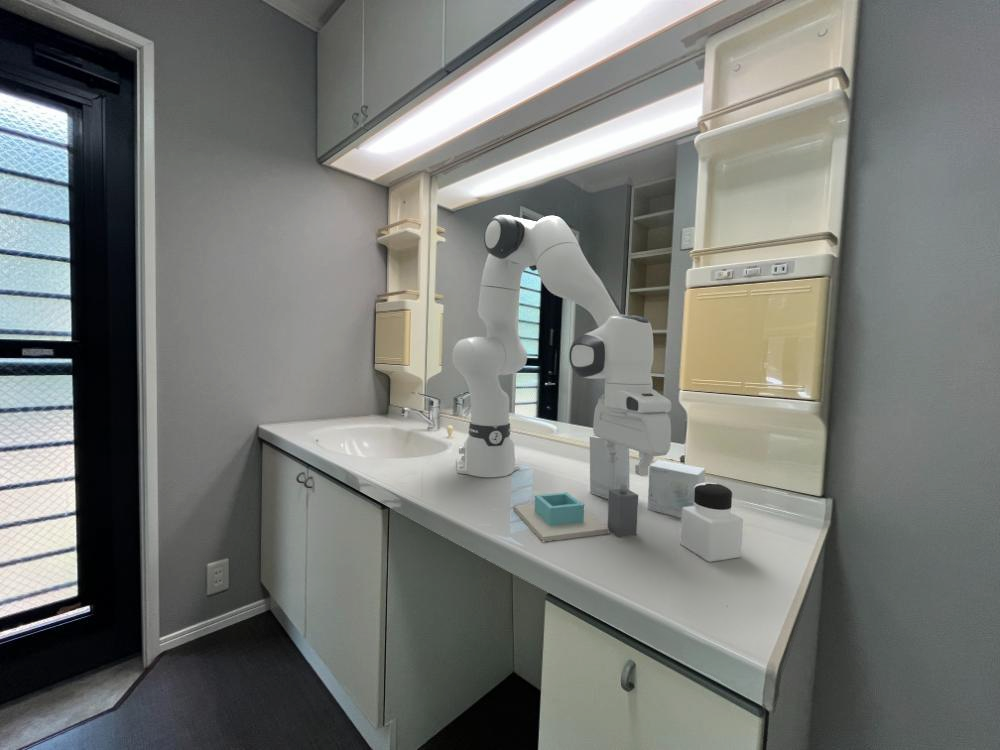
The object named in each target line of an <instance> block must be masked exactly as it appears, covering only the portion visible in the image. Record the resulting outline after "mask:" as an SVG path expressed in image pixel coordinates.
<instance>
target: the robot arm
mask: <svg viewBox="0 0 1000 750" xmlns="http://www.w3.org/2000/svg"><path fill="white" fill-rule="evenodd" d="M483 237H484V238H483V243H484V247H485V249H486V251H487V252H488V255H487V256H486V257H487V258H486V260H485V262H484V263H485V264H484V266H483V271H482V277H481V280H480V281H481V282H480V290H479V297H478V306H477V315H478V316H479V318H480V320H482V321H483V322H484V325H485V328H486V334H487V335H486V336H471V337H466V338H462V339H461V340H458V341H457V342H456V344H455V346H453V349H452V356H451V357H452V358H451V359H452V363H453V365H454V368H455V370H456V371H458V372H459V373H460V375H461V376H463V377H462V378H463V379H464V380H465V382H466V384H467V388H468V391H469V395H470V415H471V416H470V422H469V426H468V437H467V438H466V440H465V441H464V443H463V445H462V446H461V445H459V446H458V454H459V455H461V456H457V457H456V473H458V474H462V475H470V476H473V477H480V478H501V477H505V476H509V475H511V474H513V473H514V472H515V471H517V470H520V465H519V464H517V463H516V454H515V453H516V452H515V442H514V441H513V439H511V438H510V436H511V431H512V429H511V423H510V396H509V394H508V393H507V392H506V391H504V390H503V389H502V387H501V384H500V380H499V376H508V375H512V374H515V373H517V372H520V371H521V370H523V368H524V367H525V365H526V363H527V361H528V352H527V349H526V347H525V345H524V344H523V343H522V341H521V338H520V335H519V332H518V331H519V330H518V323H517V321H518V319H517V317H518V315H517V314H518V307H519V297H520V290H521V281H522V275H523V272H524V271H525V270H526V269H527V268H529V269H530V270H531V271H532V272H533V271H534V272H535V271H537V273H538V276H539V278H540V281H541V282H542V284H543V285H544V287H545V288H546V289H547V291H549V292H550V293H551V294H553V295H554V296H557V297H559V298H562V299H565V300H568V301H569V302H573V303H574V304H577V305H578V306H580V307H582V308H584V309H585V310H586V311H588V313H590V315H591V316H592V318H593V319H594V321H595V323H596V324H597V325H596V326H597V328H596V329H594V330H592V331H588V332H586V333H583V334H579V335H578V336H577V337H576V338H575V339H574V340H573V341H572V343H571V345H570V347H569V353H568V355H569V356H568V358H569V360H568V361H569V364H570V367H571V369H572V371H573V372H574V373H575V375H577V376H578V377H579V378H584V379H589V380H590V379H591V380H592V379H594V380H595V379H600V380H605V381H604V393H603V394H602V395H601V396H600V397H599V398H598V400H597V404H596V405H595V408H594V413H593V415H594V416H593V422H592V423H593V424H592V426H593V427H592V431H593V436H594V435H595V436H596V437H599V438H602V439H604V446H605V449H606V452H607V461H608V462H611V463H618V458H619V454H617V453H616V449H615V445H616V444H619V445H622V446H624V447H627V448H629V450H633V451H636V452H638V458H640V460H639V461H638V462H639V463H638V464H635V474H636V475H638V476H640V477H647V476H649V467H650V465H651V464H652V462H653V460H654V457H659V456H666V455H667V454H668V453H669V452H670V450H671V443H672V440H671V439H672V423H671V418H670V416H669V414H668V413H670V412H671V411H672V402H671V400H670V399H668V398H667V397H665V396H663V395H662V394H660V393H659V392H658V391H657V390H656V389H653V377H652V372H651V369H652V366H653V363H654V336H653V335H654V334H653V333H654V332H653V329H652V328H653V327H652V325H651V322H650V321H649V319H647V318H646V317H643V316H640V315H630V314H629V315H628V314H623V312H622V310H621V308H620V305H618V303H617V301H616V299H615V298H614V296H613V295H612V293H611V291H610V289H609V288H608V287H607V285H606V284H605V283H604V282H603V280H602V279H601V278H600V277H599V276H598V274H597V273H596V272H595V271H594V269H593V268H592V266H591V265H590V263H589V262H588V260H587V258H586V257H585V255H584V253H583V251H582V248H581V246H580V244H579V241H578V240H577V238H576V236H575V234H574V233H573V231H572V229H571V228H570V227H569V225H568V224H567V223H566V221H564V219H562V218H561V217H560V216H555V215H547V216H545V217H542V218H540V219H539V220H538V221H535V220H532V219H525V218H520V217H515V216H513V215H510V214H509V215H507V214H499V215H496V216H493V217H492V218H491V220H490V221H489V222H488V223H487V225H486V227H485V230H484V234H483Z"/></svg>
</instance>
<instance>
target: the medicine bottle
mask: <svg viewBox="0 0 1000 750" xmlns="http://www.w3.org/2000/svg"><path fill="white" fill-rule="evenodd" d="M732 499H733V492H732V491H731V489H730V488H729V487H727V486H726V485H722V484H719V483H715V482H714V483H713V482H705V483H700V484H697V485H696V486H695V487H694V506H690V507H683V508H682V518H681V520H680V521H681V524H680V525H681V526H680V544H681V545H682V546H683V547H684V548H686V549H688V550H689V551H691V552H692V553H694V554H695V555H697V556H699V557H700V558H702V560H703V559H704V561H707V562H708V563H711V562H719V561H725V560H730V559H736V558H737V559H738V558H741V557H742V542H743V525H744V524H743V523H744V519H743V518H742V517H741V516H739V515H736V514H734V513H732V503H733V502H732V501H733V500H732Z"/></svg>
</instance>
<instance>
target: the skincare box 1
mask: <svg viewBox="0 0 1000 750" xmlns="http://www.w3.org/2000/svg"><path fill="white" fill-rule="evenodd" d="M615 449H616V453H617V454H619V458H618V463H611V462H608V461H607V452H606V449H605V446H604V439H602V438H599V437H596V436H595V435H594V434H593V435H590V436H589V493H590V494H593V495H595V496H598V497H600V498H603V499H606V500H608V501H609V490H613V489H620V485H621V484H626V485H627V489H628V490H630V489H631V488H630V485H631V483H630V448H627V447H624V446H622V445H619V444H616V445H615ZM630 491H631V490H630Z"/></svg>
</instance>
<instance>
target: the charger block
mask: <svg viewBox="0 0 1000 750" xmlns="http://www.w3.org/2000/svg"><path fill="white" fill-rule="evenodd" d="M607 503H608V504H607V526H606V527H607V528H609V532H611V533H612V534H613V535H615V536H616V537H617V538H626V537H632V536H637V535H638V534H637V533H638V512H639V511H638V508H639V494H637V493H635V492H633V491H632V490H628V489H627V485H626V484H621V485H620V489H613V490H609V500H608V502H607Z"/></svg>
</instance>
